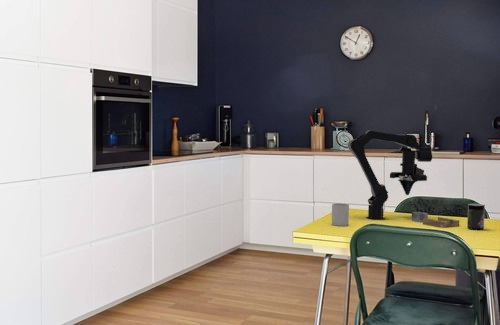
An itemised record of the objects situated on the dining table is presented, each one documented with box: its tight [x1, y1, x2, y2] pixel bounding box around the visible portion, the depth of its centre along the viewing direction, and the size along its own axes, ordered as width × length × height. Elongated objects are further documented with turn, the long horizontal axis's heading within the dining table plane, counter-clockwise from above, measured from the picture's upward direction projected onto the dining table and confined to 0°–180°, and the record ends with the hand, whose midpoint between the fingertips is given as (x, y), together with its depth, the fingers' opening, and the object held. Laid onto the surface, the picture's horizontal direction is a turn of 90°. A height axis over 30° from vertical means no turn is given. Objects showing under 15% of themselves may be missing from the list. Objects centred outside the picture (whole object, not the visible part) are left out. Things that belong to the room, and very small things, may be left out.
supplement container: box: [466, 203, 486, 231], centre depth 265 cm, size 7×7×10 cm
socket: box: [411, 211, 429, 223], centre depth 286 cm, size 5×5×4 cm
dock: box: [422, 216, 460, 229], centre depth 275 cm, size 10×11×3 cm
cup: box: [331, 203, 350, 227], centre depth 273 cm, size 7×10×9 cm
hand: (407, 194), depth 293 cm, fingers closed
